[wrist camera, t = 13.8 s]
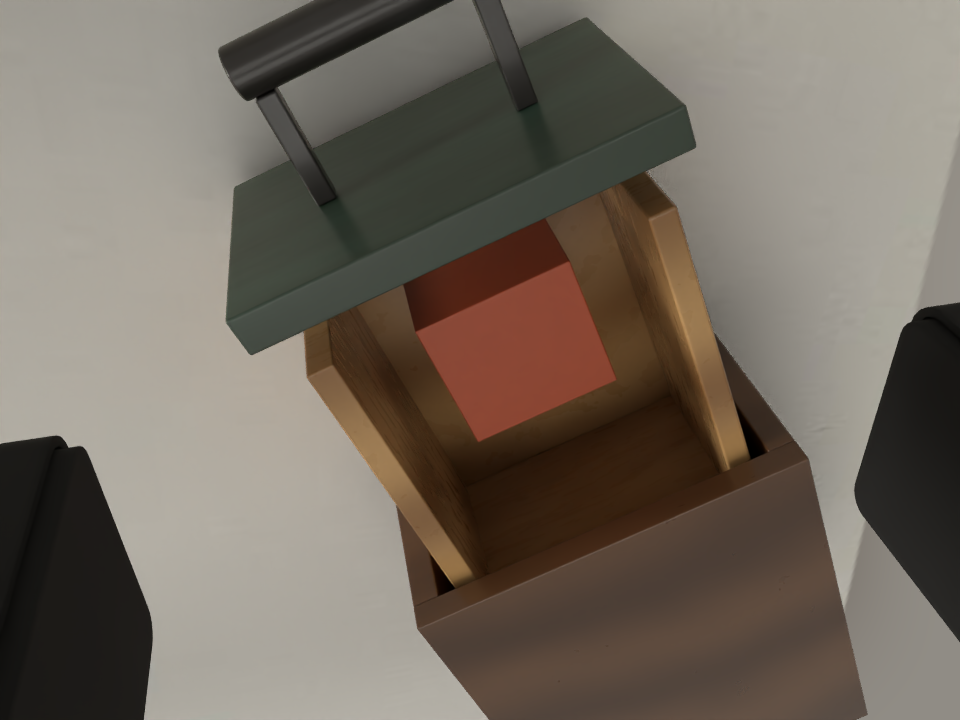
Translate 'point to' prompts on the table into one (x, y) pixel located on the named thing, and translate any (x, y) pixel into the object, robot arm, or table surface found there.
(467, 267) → the block
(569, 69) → the wooden drawer
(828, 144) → the table surface
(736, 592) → the cabinet
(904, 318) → the table surface
